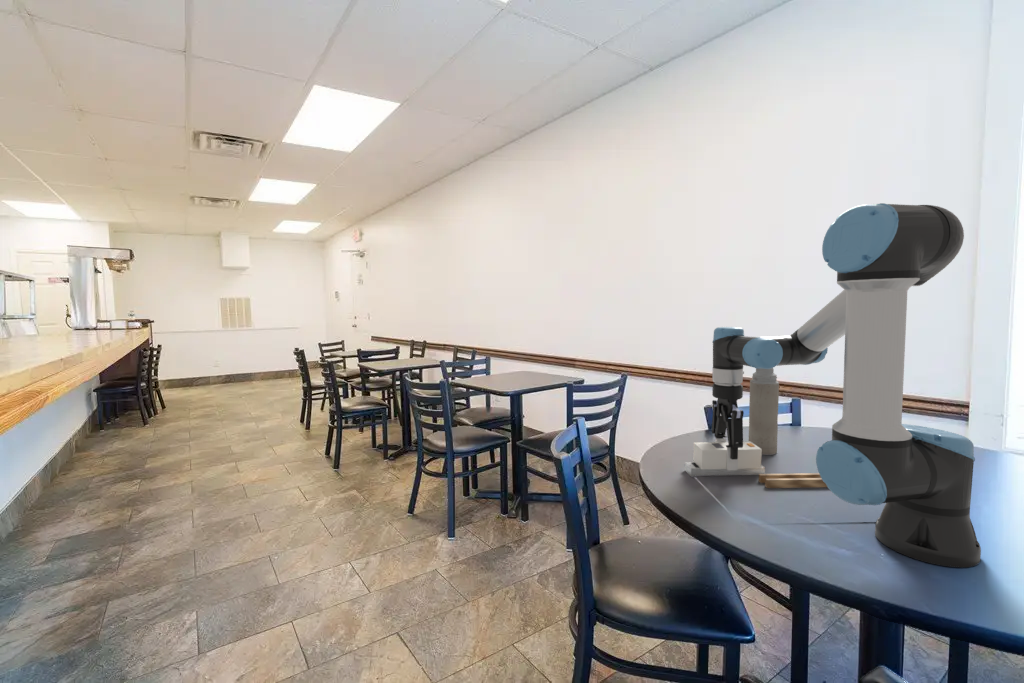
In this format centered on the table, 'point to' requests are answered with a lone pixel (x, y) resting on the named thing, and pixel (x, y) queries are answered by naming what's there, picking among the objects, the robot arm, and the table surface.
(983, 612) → the table surface
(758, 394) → the thermos bottle
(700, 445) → the power strip
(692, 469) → the keyhole plate
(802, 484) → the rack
